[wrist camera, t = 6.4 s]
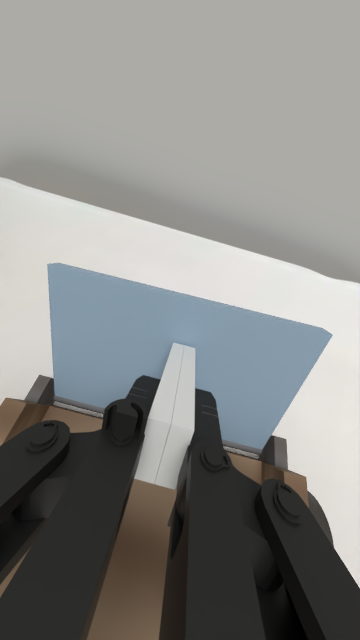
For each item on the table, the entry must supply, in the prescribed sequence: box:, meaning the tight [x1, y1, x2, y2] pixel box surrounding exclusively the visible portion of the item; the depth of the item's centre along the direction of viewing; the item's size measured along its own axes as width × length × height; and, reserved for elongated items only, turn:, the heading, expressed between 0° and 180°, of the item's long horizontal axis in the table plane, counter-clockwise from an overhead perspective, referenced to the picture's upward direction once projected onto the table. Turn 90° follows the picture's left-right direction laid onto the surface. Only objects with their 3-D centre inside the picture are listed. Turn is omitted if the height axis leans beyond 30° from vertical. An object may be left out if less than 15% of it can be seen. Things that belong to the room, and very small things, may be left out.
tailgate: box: [47, 263, 332, 455], centre depth 14 cm, size 1×18×12 cm
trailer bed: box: [0, 375, 334, 640], centre depth 11 cm, size 16×24×4 cm, turn 77°
